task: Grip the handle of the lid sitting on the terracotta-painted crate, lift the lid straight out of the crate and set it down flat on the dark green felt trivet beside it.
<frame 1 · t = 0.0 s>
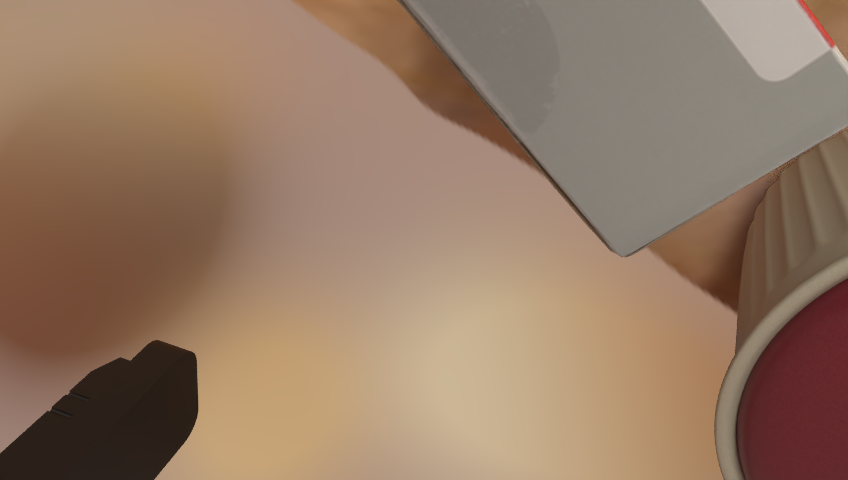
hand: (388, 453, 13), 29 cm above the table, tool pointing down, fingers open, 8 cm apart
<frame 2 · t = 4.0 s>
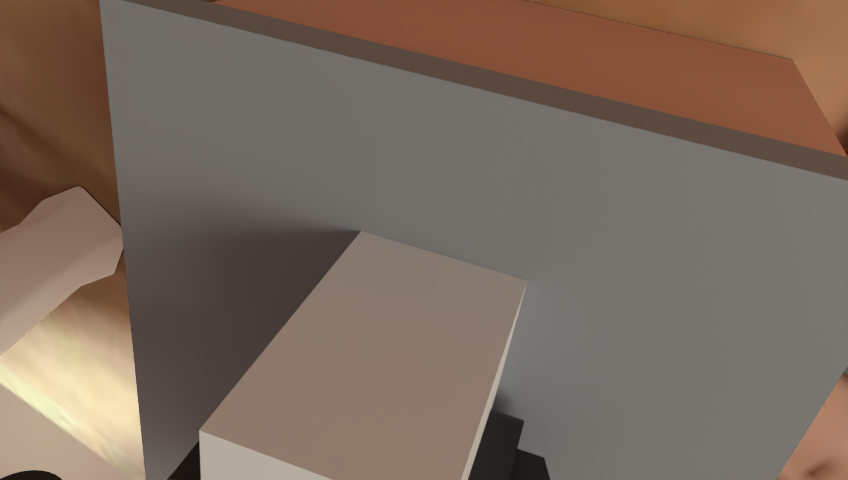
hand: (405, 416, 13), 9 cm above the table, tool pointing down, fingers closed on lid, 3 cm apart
lid: (428, 370, 15), point 8 cm above the table, touching crate, gripper
crate: (504, 206, 21), on the table
perfume bottle: (83, 226, 27), on the table
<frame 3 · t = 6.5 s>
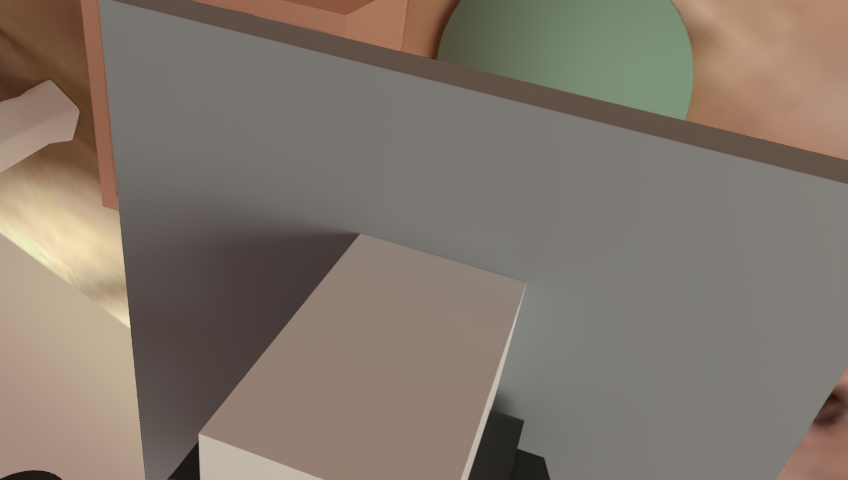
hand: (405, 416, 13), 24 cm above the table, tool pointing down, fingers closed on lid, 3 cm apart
lid: (428, 371, 15), point 22 cm above the table, touching gripper
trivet: (559, 81, 33), on the table
crate: (289, 75, 37), on the table
perfume bottle: (53, 108, 43), on the table
when the fingers open (5 cm above the table, at t = 9.0 s): lid drops 2 cm, resting on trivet.
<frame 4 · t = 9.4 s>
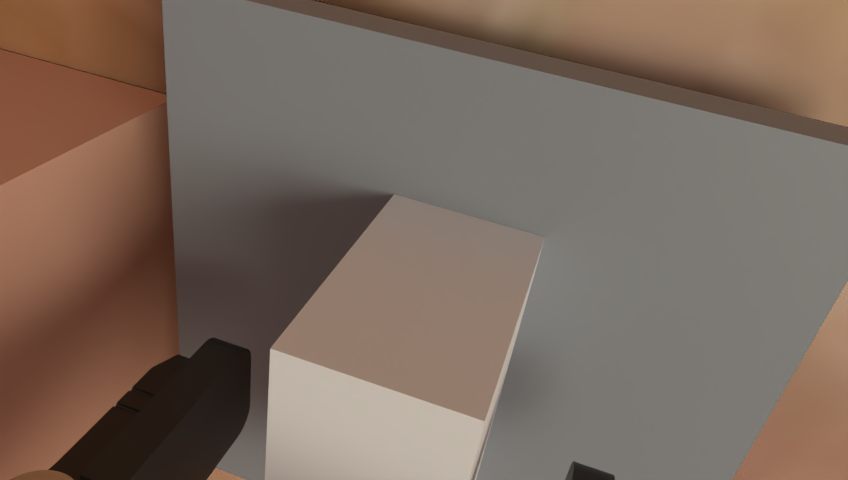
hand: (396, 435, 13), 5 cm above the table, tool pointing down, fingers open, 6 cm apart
lid: (451, 327, 16), point 2 cm above the table, touching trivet
crate: (12, 235, 21), on the table
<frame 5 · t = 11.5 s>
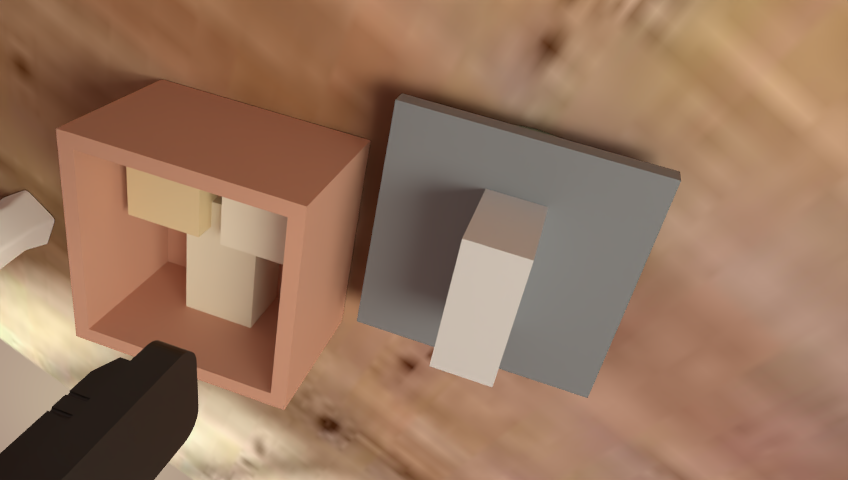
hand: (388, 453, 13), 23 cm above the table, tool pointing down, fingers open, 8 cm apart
lid: (502, 249, 35), point 2 cm above the table, touching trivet
crate: (257, 207, 40), on the table
perfume bottle: (28, 214, 45), on the table
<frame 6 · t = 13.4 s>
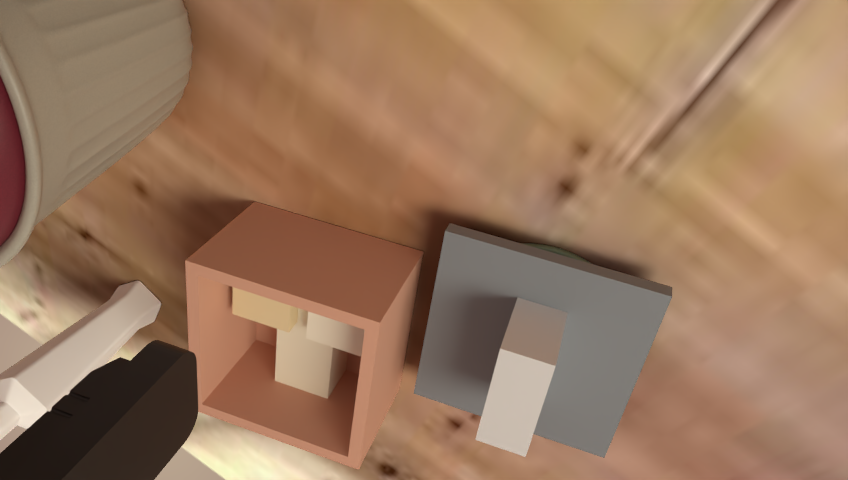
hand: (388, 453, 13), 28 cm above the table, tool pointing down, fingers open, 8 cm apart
lid: (531, 340, 43), point 2 cm above the table, touching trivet
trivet: (534, 325, 44), on the table
crate: (330, 298, 49), on the table
canister: (115, 17, 43), on the table
perfume bottle: (139, 298, 55), on the table
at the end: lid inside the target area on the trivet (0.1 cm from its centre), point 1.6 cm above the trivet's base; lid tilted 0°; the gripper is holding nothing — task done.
